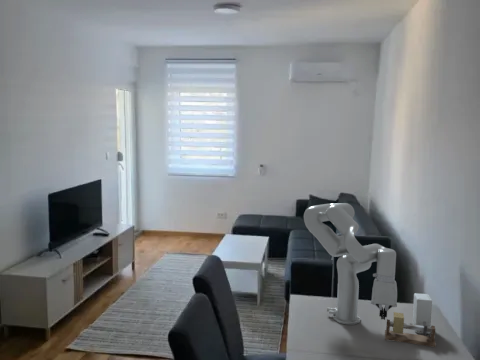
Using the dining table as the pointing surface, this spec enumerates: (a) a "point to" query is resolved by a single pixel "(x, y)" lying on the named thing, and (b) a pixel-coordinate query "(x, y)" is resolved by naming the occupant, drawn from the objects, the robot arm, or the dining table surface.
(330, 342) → the dining table surface
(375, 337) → the dining table surface
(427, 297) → the skincare box
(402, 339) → the rod stand
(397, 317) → the yellow rectangular block
